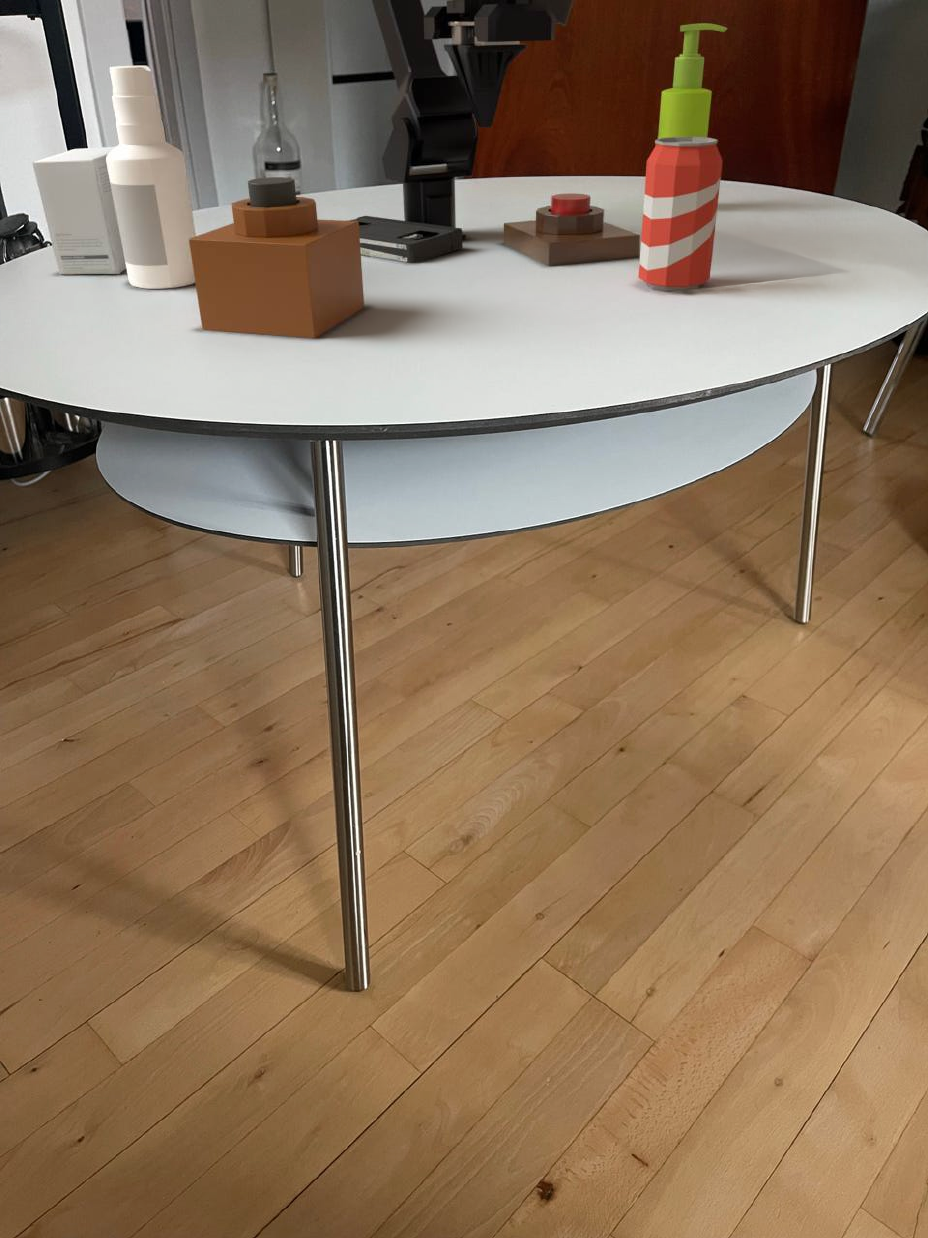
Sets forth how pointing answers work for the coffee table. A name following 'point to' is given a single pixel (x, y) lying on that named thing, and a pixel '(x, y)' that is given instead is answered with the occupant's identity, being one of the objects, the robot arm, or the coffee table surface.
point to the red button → (570, 203)
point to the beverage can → (680, 213)
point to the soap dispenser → (687, 90)
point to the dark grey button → (272, 192)
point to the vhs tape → (406, 239)
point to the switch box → (571, 238)
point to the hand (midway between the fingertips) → (485, 127)
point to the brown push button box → (278, 271)
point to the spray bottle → (149, 187)
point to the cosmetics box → (81, 211)
